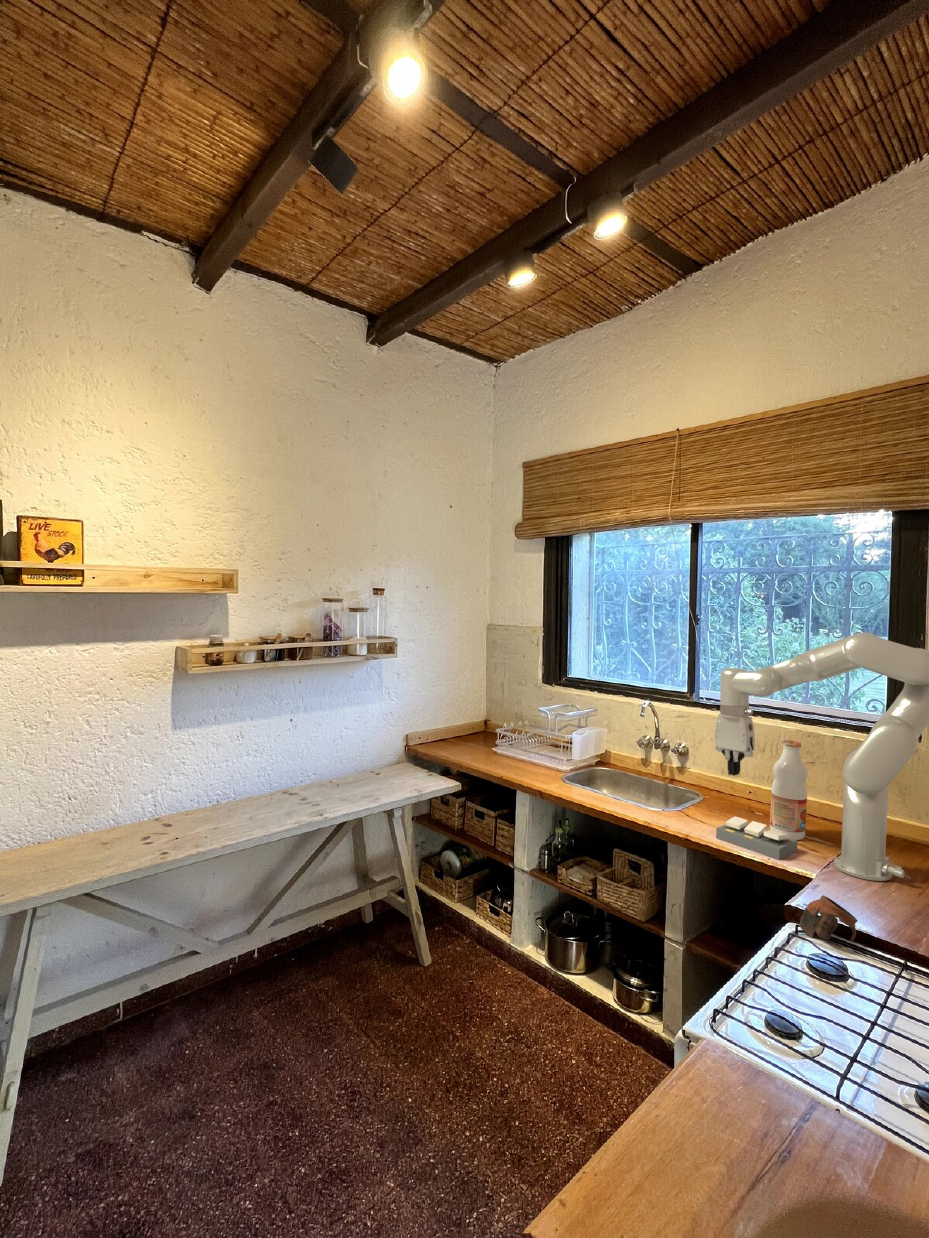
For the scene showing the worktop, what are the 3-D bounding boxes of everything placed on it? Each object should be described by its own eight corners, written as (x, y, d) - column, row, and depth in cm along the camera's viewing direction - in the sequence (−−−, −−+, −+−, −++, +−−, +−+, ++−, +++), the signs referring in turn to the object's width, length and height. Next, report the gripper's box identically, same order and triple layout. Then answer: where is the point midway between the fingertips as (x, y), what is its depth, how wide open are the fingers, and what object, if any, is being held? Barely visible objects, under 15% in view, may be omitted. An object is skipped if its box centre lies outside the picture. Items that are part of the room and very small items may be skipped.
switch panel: (796, 851, 166) (797, 840, 166) (778, 860, 160) (779, 848, 160) (734, 830, 180) (735, 820, 180) (716, 838, 174) (716, 827, 174)
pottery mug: (795, 919, 130) (816, 888, 130) (840, 952, 125) (862, 920, 124) (794, 929, 120) (817, 895, 119) (843, 966, 115) (867, 931, 114)
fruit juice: (765, 827, 184) (769, 737, 183) (798, 830, 182) (802, 739, 181) (775, 838, 174) (780, 744, 174) (810, 842, 173) (815, 746, 172)
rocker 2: (767, 829, 170) (766, 825, 169) (758, 837, 167) (758, 833, 167) (753, 825, 173) (752, 820, 173) (744, 833, 170) (744, 828, 170)
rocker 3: (786, 839, 165) (787, 834, 165) (778, 841, 162) (778, 835, 162) (772, 835, 168) (772, 829, 168) (763, 836, 165) (763, 831, 165)
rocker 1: (748, 825, 174) (748, 820, 174) (739, 830, 171) (739, 825, 171) (735, 821, 177) (734, 816, 177) (726, 826, 174) (725, 821, 174)
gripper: (766, 713, 169) (766, 777, 169) (717, 706, 181) (716, 767, 181) (753, 715, 164) (752, 782, 165) (703, 709, 176) (702, 770, 177)
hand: (733, 774), depth 173 cm, fingers closed
